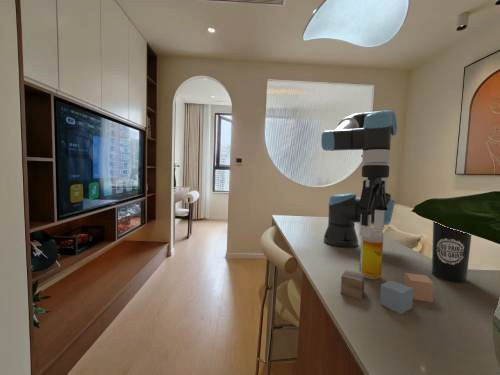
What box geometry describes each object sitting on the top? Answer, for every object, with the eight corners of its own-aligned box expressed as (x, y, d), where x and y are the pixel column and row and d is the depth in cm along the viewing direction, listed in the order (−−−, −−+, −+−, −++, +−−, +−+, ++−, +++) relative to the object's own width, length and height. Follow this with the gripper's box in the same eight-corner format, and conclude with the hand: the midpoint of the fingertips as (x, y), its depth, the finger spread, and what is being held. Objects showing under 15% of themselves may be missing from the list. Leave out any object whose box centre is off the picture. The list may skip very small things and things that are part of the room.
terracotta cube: (404, 290, 66) (405, 272, 66) (425, 293, 65) (426, 275, 64) (409, 298, 62) (410, 280, 61) (432, 302, 60) (433, 283, 60)
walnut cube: (344, 286, 68) (345, 269, 67) (364, 292, 65) (364, 274, 64) (340, 294, 63) (341, 275, 63) (361, 299, 61) (362, 280, 60)
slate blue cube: (390, 298, 61) (391, 280, 61) (412, 308, 57) (413, 288, 57) (379, 304, 59) (380, 284, 58) (401, 314, 54) (402, 293, 54)
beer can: (384, 281, 71) (386, 232, 70) (362, 279, 73) (364, 231, 72) (377, 273, 77) (379, 227, 76) (357, 271, 78) (359, 226, 78)
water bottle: (426, 276, 75) (431, 205, 74) (430, 267, 83) (434, 202, 82) (470, 287, 68) (475, 208, 67) (470, 276, 76) (475, 205, 75)
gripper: (374, 166, 85) (371, 225, 86) (347, 162, 66) (344, 237, 67) (398, 166, 79) (395, 229, 80) (376, 162, 61) (372, 242, 62)
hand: (372, 232), depth 74 cm, fingers open, 13 cm apart
